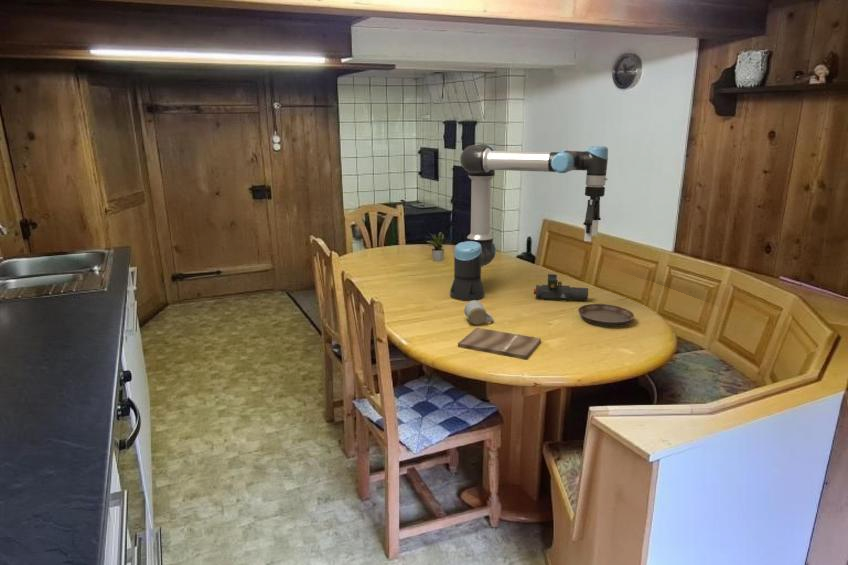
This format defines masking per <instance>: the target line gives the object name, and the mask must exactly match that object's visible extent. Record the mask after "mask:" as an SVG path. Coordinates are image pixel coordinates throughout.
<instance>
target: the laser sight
mask: <svg viewBox="0 0 848 565" xmlns="http://www.w3.org/2000/svg"><path fill="white" fill-rule="evenodd" d="M557 278H558V274H552V273H551V274H550V273H547V284H542V285H539V284H538V285H536V286H535V288H534V289H533V295H535V299H538V300H539V299H541V300H542V299H544V300H546V301H560V300H566V301H565V302H568V301H583V302H584V301H585V302H586V301H587V302H588V299H589V288H588V287H574V286H570V285H563V284H562V281H558V279H557Z"/></svg>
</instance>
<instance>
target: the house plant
mask: <svg viewBox="0 0 848 565" xmlns="http://www.w3.org/2000/svg"><path fill="white" fill-rule="evenodd" d="M428 234H429V235H430V236H431V237H430V236H428V235H427V238H429V239H430V240H426V242H427V244H428V245H427V247H428V246H429V248H430V247H433V248H432V249H431V253H432V254H431V255H432V259H433V261H434V262H443V259H444V253H445V246H444V244H446V242H444V241H445V240H446V238H447V237H445V235H444V234H442V232H441V231H440V232H438V235H436V234H435V233H433V234H432V233H428Z"/></svg>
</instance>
